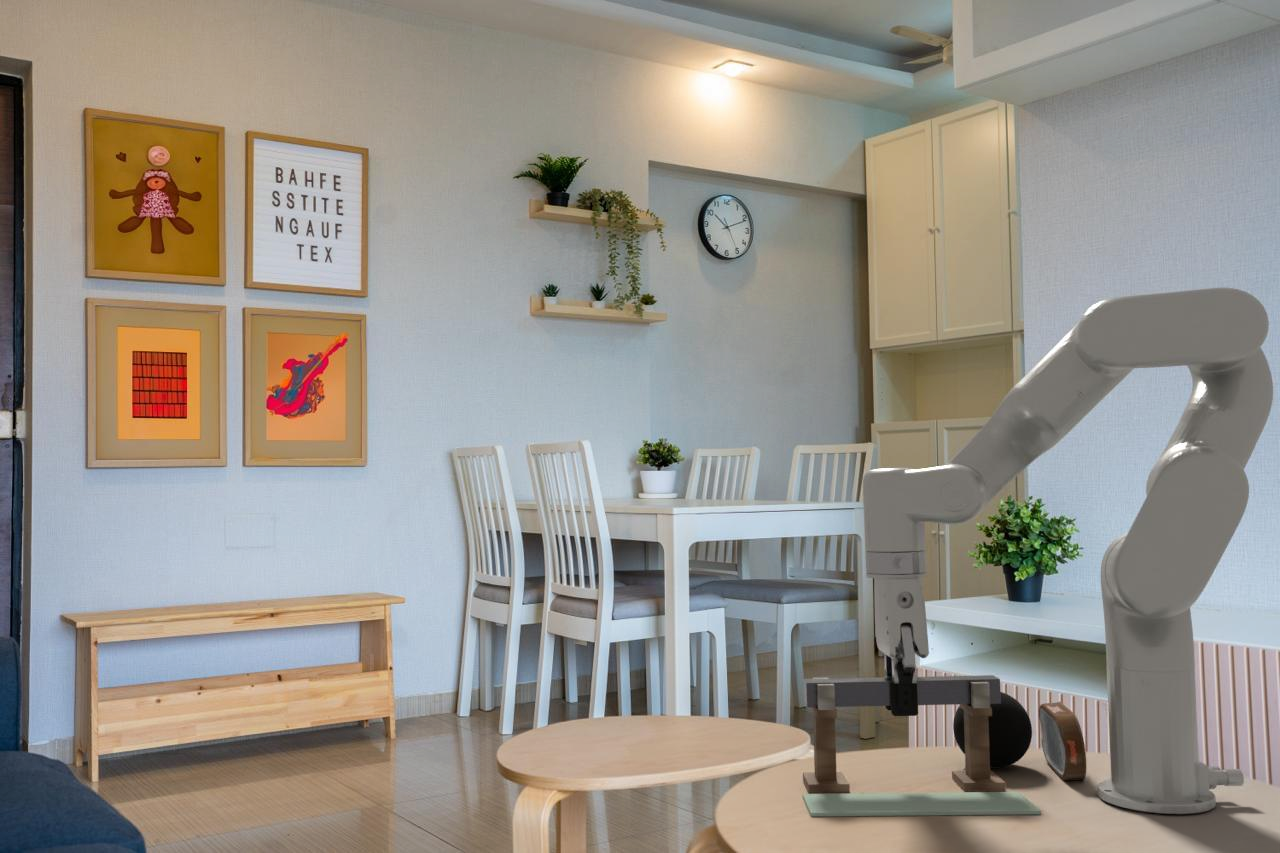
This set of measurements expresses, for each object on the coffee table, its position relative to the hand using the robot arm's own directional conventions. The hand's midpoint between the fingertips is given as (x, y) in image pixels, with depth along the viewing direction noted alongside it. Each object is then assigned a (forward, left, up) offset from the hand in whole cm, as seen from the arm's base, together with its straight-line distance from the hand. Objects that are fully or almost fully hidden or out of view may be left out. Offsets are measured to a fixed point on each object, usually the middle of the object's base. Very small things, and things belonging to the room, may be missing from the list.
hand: (901, 711), depth 140 cm
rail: (0, 0, +1) cm, 1 cm away
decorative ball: (-14, -9, -9) cm, 19 cm away
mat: (0, +9, -9) cm, 13 cm away
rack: (0, 0, -9) cm, 9 cm away
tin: (-22, -6, -10) cm, 25 cm away
